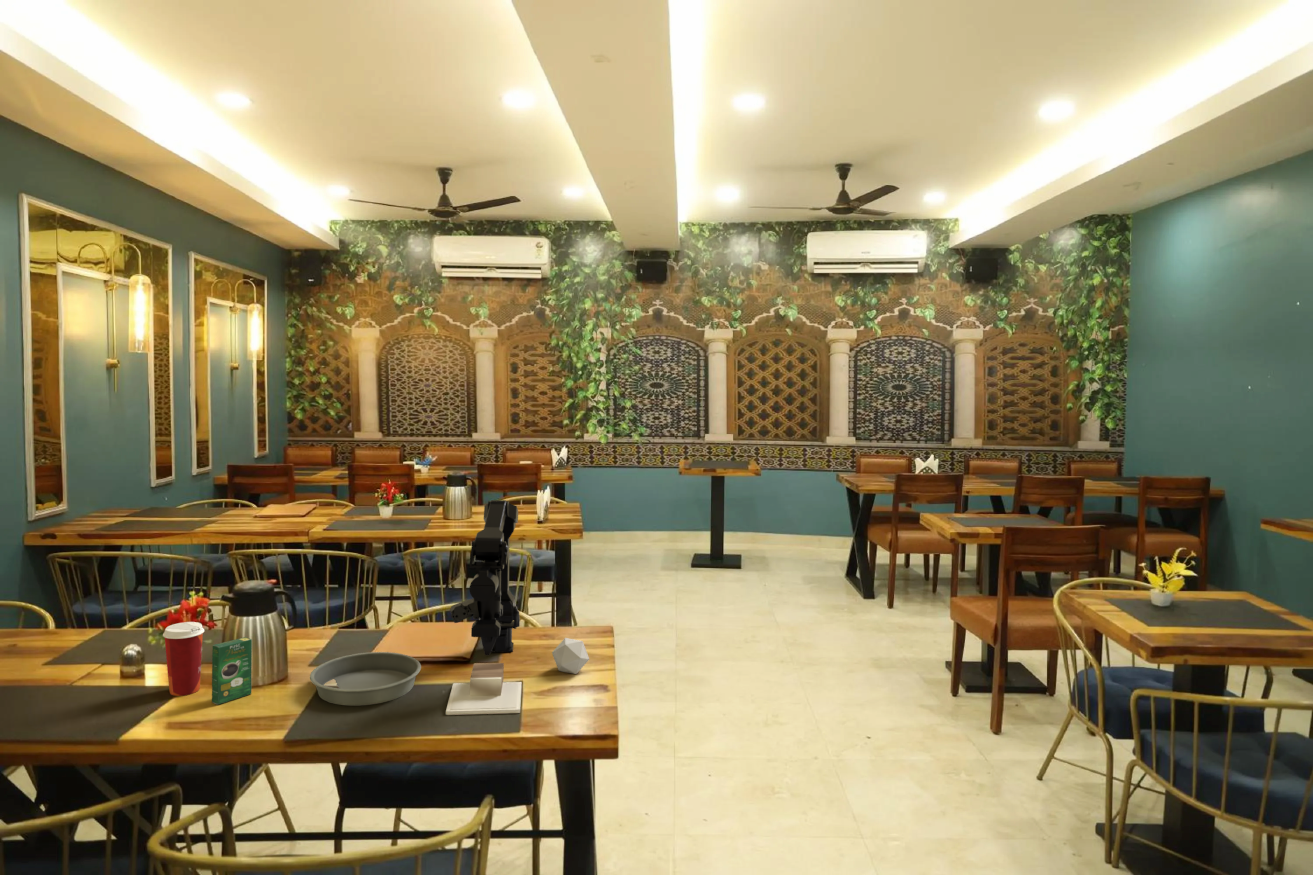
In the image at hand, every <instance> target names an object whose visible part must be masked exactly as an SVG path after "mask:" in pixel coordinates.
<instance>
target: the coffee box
mask: <svg viewBox="0 0 1313 875" xmlns="http://www.w3.org/2000/svg"><path fill="white" fill-rule="evenodd" d="M211 646H212V647H211V650H212V651H211V653H212V654H211V656H212V657H211V659H212V660H211V703H213V704H214V705H221V704H224V703H225V704H226V703H228V702H231V701H234V700H237V699H240V698H243V697H246V696H249V695H252V689H253V688H252V663H253V662H252V660H253V658H252V655H253V653H252V652H253V650H252V649H253V640H252V638H249V637H246V636H243V637H241V638H236V639H233V640H227V641H224V642H220V643H219V642H218V643H215V644H212V645H211Z"/></svg>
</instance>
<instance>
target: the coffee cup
mask: <svg viewBox="0 0 1313 875" xmlns="http://www.w3.org/2000/svg"><path fill="white" fill-rule="evenodd" d="M204 632H205V628H203V624H202V623H201V622H197V621H196V622H195V621H185V622H178V623H174V624H171V625H168V626H167V627H166V628H165V629H164V632H163V634H162V638H164V644H165V646H164V647H165V657H166V658H165V660H166V667H167V668H166V670H167V680H168V681H167V682H168V689H169V694H170V695H171V696H175V697H183V696H189V695H193V694H195V693H197V692H199V691H200V688H201V672H202V659H203V658H202V653H203V635H204V634H203V633H204Z"/></svg>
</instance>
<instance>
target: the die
mask: <svg viewBox="0 0 1313 875" xmlns="http://www.w3.org/2000/svg"><path fill="white" fill-rule="evenodd" d="M551 654H552V657H553V659H554V662H555V665H556V667H557V670H558V671H559V672H564V673H568V674H572V675H573V674H574V675H578V673H579V672H580V671H581V670H582V669H583V667H584V666H585V665H586V664H587V663H588V662H589V661H590V657H589V655H588V651H587V648H586V646H585V644H584V641H583V640H579V639H574V638H568V637H564V638H563V639H562V641H561V642H560V643H559V644H558V645H557V646H556V648H554V649H553V651H552V652H551Z"/></svg>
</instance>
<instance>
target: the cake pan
mask: <svg viewBox="0 0 1313 875" xmlns="http://www.w3.org/2000/svg"><path fill="white" fill-rule="evenodd" d="M421 669H422V665H421V662H420V661H419V660H417V659H416V658H414V657H413V656H411V655H407V654H403V653H398V652H389V651H373V652H371V651H370V652H359V653H353V654H350V655H348V654H347V655H343V656H340V657H336V658H333V659H330V660H328V661H326V662H322V663H321V664H319V665H318V666H316V667H315V668H314V669H312V671H311V672H310V674H309V680H310V682H311V683H312V684H313V685H314V686H315V687H316V690H317V694H318V696H319V698H320V699H322V700H324V701H326V702H328V703H331V704H335V705H340V706H341V705H342V706H368V705H376V704H382V703H386V702H389V701H393V700H396V699H398V698H401V697H403V696H404V695H407V694H408V693H409V692H410V691H411V690H412V689H413V688H414V685H415V682H416V676H417V675H418V674H419V673H420V671H421ZM333 680H334V682H335V683H336V686H337V687H338V688H337V687H331V686H327V685H325V684H327V683H328V682H331V681H333Z"/></svg>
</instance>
